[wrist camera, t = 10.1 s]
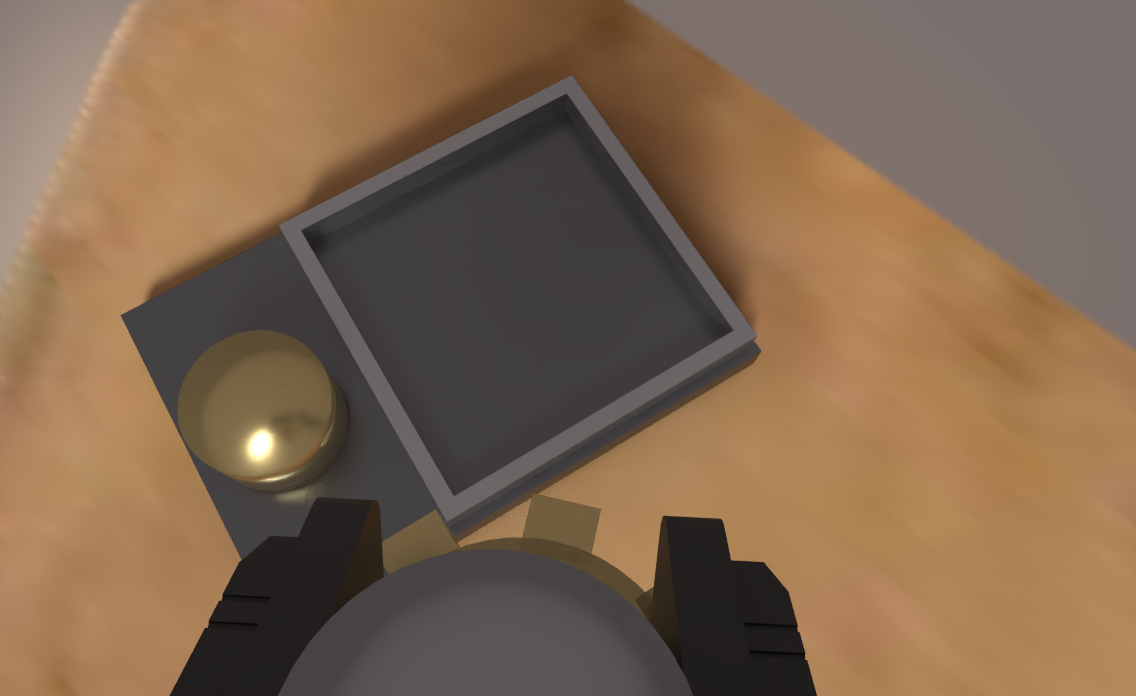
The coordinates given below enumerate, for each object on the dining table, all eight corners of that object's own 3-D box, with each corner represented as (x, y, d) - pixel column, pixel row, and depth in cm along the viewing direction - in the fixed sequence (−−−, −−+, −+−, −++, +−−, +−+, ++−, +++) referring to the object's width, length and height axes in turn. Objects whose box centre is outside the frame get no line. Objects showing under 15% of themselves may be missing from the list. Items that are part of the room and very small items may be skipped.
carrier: (570, 103, 32) (573, 35, 29) (752, 363, 29) (781, 323, 26) (137, 328, 29) (81, 283, 26) (293, 641, 26) (254, 638, 23)
